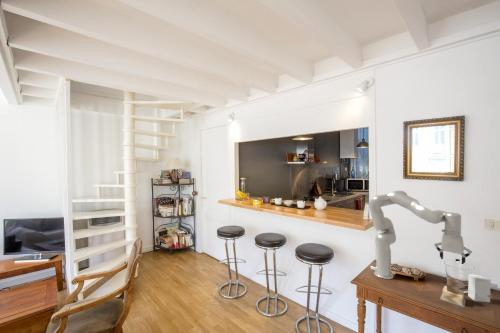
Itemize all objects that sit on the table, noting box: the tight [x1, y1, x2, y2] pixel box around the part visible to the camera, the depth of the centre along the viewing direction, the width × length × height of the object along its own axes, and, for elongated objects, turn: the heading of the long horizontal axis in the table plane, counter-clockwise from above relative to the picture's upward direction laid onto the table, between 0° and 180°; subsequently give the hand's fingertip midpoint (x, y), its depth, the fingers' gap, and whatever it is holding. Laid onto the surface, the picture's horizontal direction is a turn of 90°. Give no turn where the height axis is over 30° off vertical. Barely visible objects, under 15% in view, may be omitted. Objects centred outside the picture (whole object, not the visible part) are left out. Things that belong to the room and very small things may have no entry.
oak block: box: [441, 285, 465, 306], centre depth 142 cm, size 9×9×5 cm
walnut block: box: [446, 276, 460, 294], centre depth 142 cm, size 5×5×7 cm
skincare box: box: [467, 273, 492, 303], centre depth 142 cm, size 8×6×15 cm
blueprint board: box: [439, 294, 467, 308], centre depth 142 cm, size 20×14×1 cm
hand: (452, 261), depth 142 cm, fingers open, 9 cm apart
